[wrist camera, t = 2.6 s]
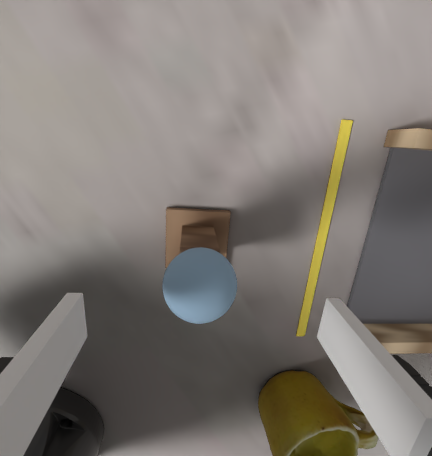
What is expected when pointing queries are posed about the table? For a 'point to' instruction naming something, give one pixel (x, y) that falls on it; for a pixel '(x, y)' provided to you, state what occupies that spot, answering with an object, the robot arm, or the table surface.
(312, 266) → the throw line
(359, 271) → the mat
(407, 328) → the wooden u-shaped frame
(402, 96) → the table surface
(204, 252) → the ball
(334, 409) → the mug
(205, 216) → the tee
